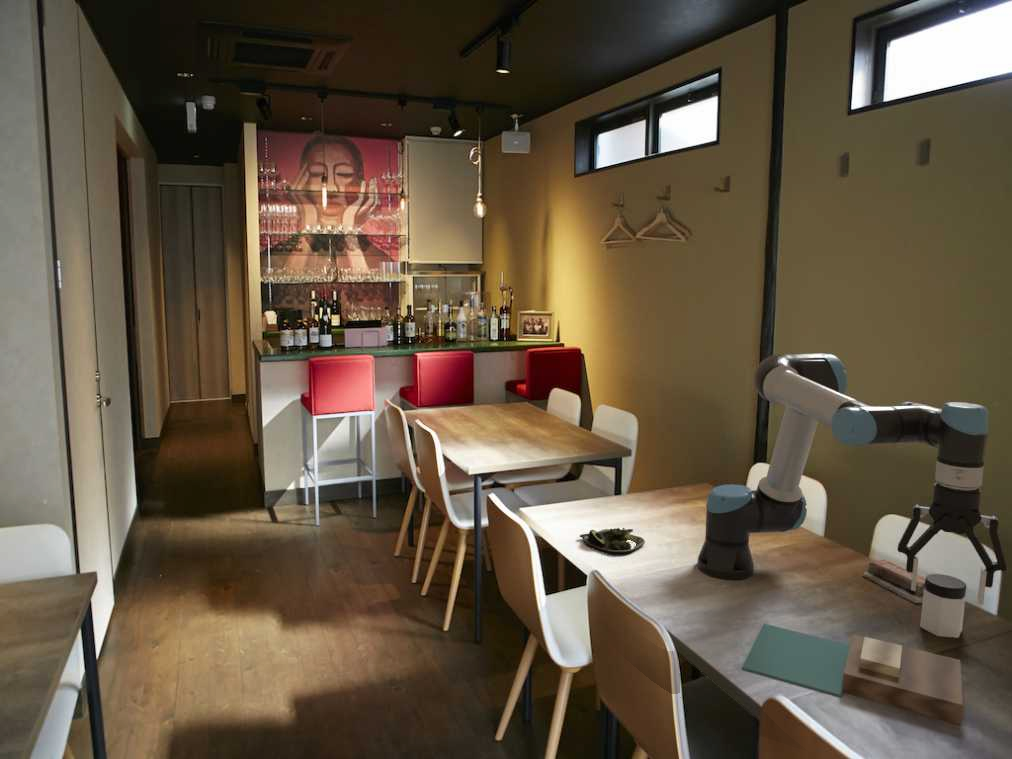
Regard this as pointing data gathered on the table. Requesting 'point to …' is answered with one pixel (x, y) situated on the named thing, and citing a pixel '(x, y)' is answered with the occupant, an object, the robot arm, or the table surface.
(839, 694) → the teal mat
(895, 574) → the packaged product
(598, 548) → the salad plate
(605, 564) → the table surface
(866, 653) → the maple tile
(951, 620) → the jar
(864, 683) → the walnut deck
